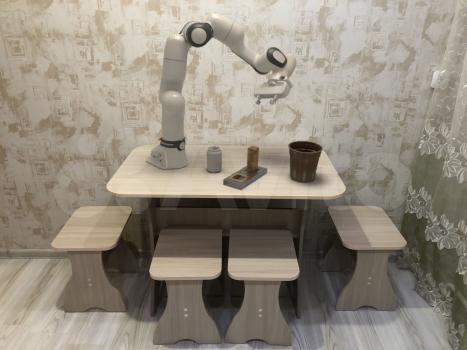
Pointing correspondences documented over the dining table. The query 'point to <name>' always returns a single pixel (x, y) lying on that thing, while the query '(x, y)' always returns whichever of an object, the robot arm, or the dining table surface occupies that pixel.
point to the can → (214, 159)
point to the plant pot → (304, 160)
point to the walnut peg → (252, 159)
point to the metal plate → (244, 177)
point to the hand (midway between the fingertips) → (264, 103)
